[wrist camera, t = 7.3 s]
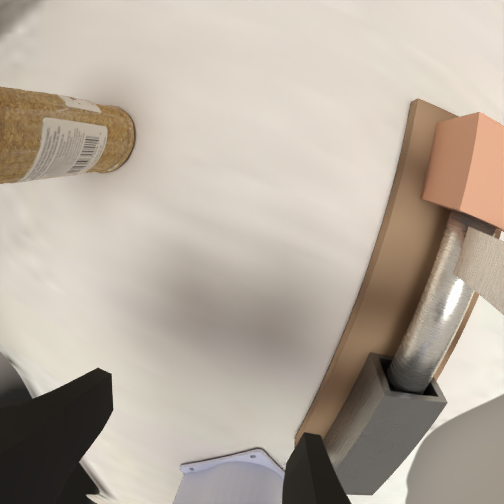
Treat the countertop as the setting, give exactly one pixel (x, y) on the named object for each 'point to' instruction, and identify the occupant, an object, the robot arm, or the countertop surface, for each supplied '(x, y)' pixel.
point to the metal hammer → (448, 299)
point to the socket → (468, 168)
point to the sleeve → (378, 427)
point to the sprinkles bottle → (59, 136)
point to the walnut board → (391, 273)
